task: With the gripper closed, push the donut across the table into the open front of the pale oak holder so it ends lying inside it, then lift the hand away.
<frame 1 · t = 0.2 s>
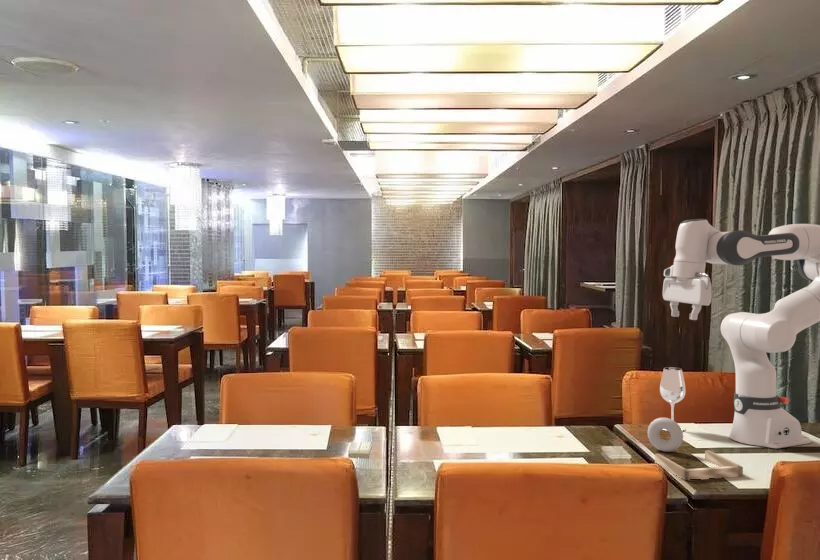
hand: (683, 318, 195), 38 cm above the table, tool pointing down, fingers open, 8 cm apart
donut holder: (697, 469, 175), on the table
donut: (664, 452, 191), on the table
wineglass: (672, 429, 214), on the table
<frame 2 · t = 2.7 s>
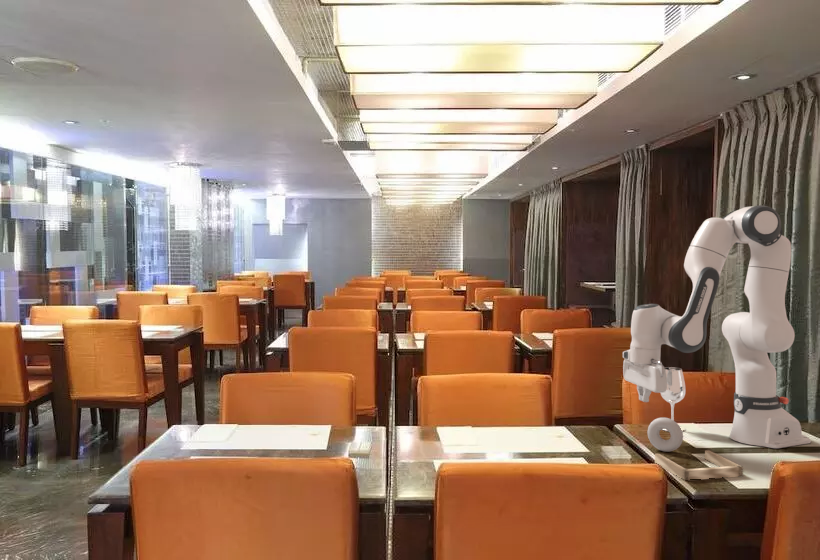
hand: (643, 401, 201), 12 cm above the table, tool pointing down, fingers closed
nothing on the table moved.
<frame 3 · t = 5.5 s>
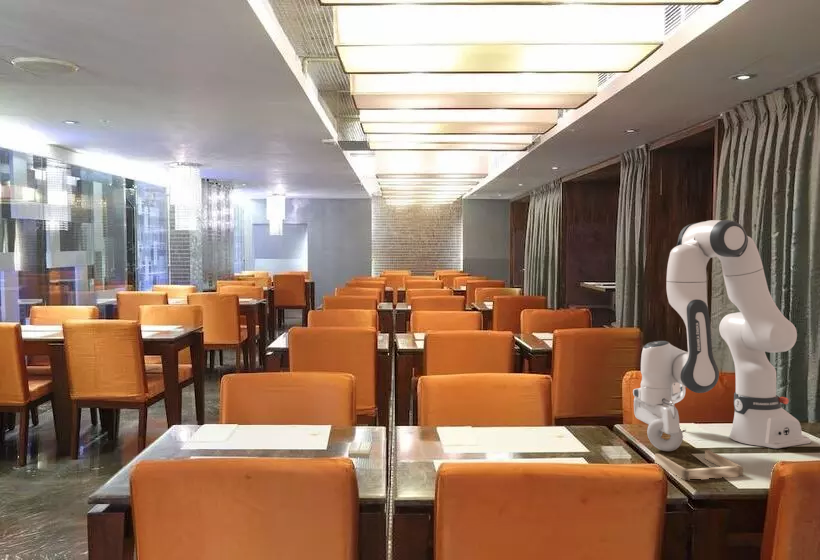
hand: (656, 441, 195), 2 cm above the table, tool pointing down, fingers closed
donut: (664, 451, 191), on the table, touching gripper
everything else where it was.
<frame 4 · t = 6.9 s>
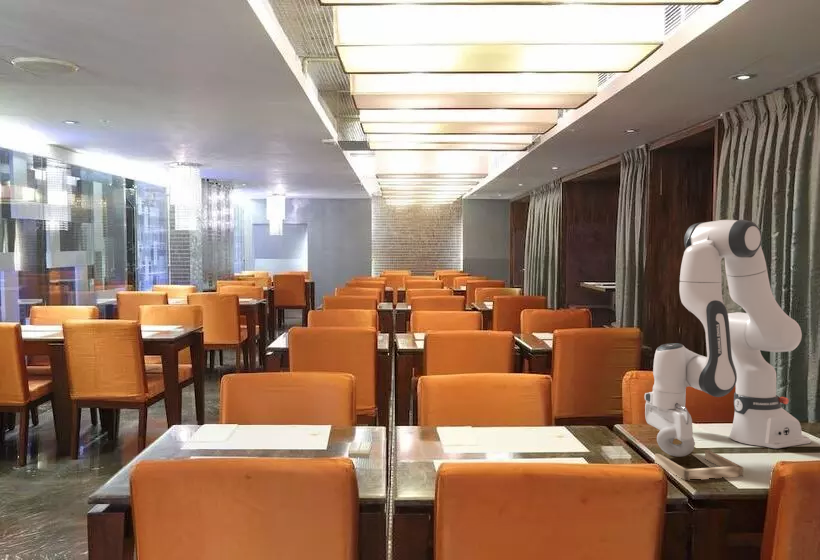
hand: (667, 447, 188), 2 cm above the table, tool pointing down, fingers closed
donut: (676, 455, 185), point 1 cm above the table, touching gripper
everything else where it was.
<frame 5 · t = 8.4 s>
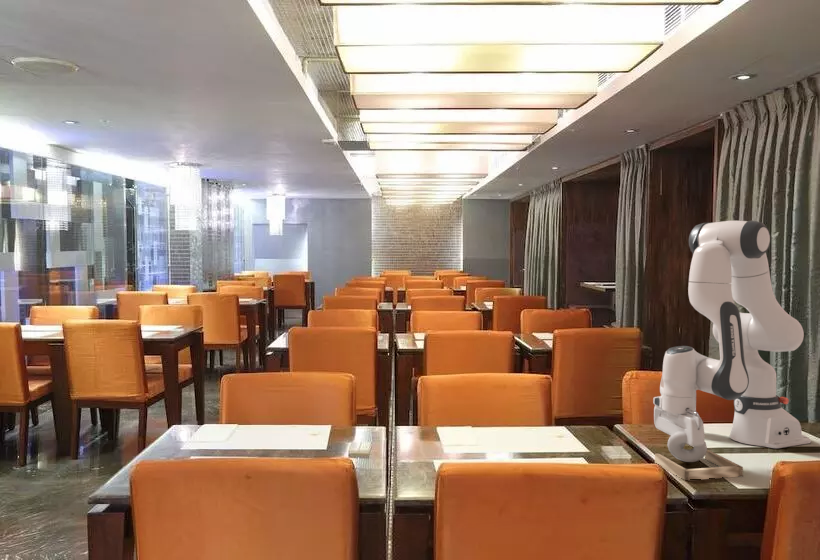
hand: (677, 453, 183), 2 cm above the table, tool pointing down, fingers closed
donut: (688, 460, 180), point 1 cm above the table, touching gripper
everything else where it was.
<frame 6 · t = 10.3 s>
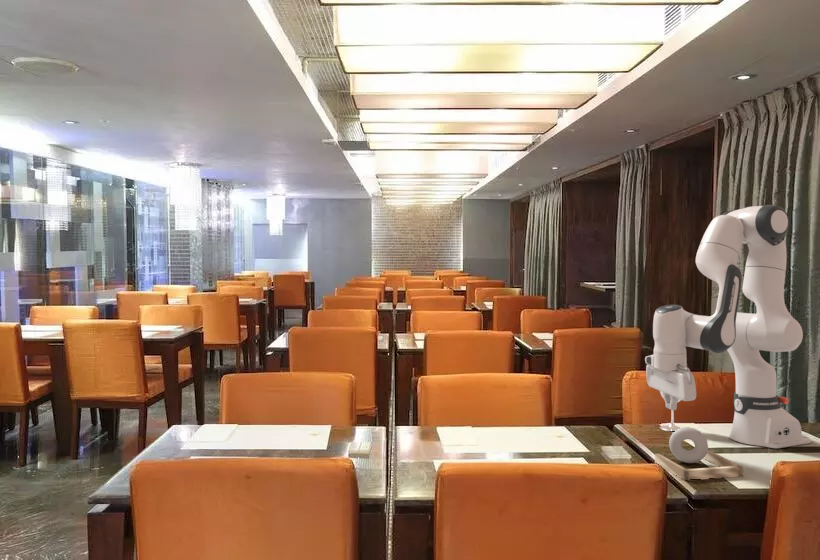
hand: (671, 408, 188), 13 cm above the table, tool pointing down, fingers closed
donut: (688, 463, 180), resting in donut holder
everything else where it was.
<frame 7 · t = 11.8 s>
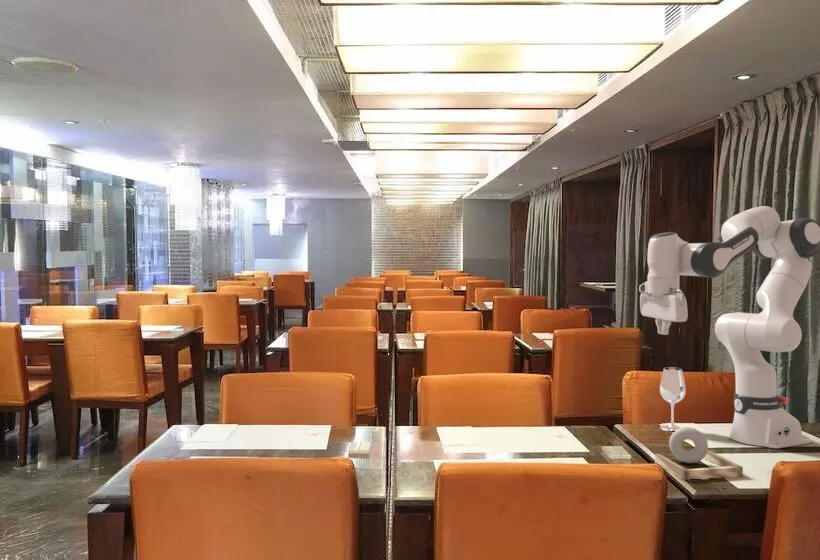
hand: (663, 334, 192), 34 cm above the table, tool pointing down, fingers closed
nothing on the table moved.
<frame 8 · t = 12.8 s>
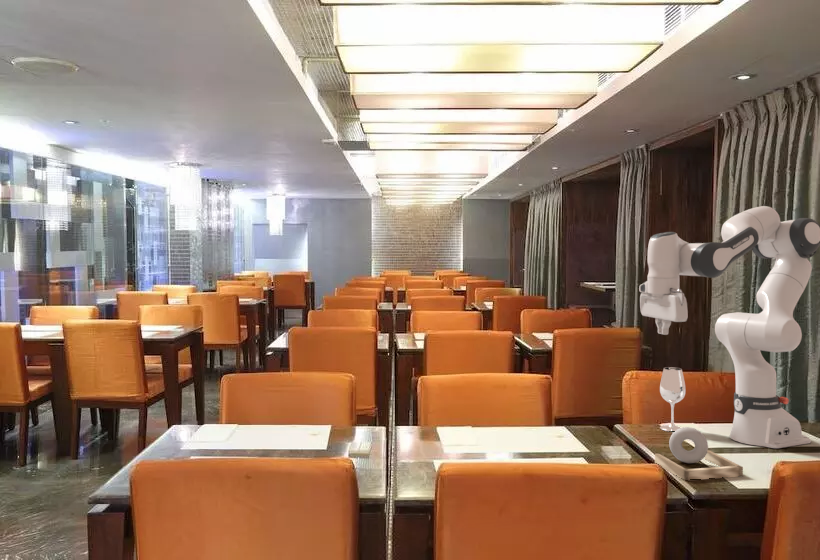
hand: (663, 334, 192), 34 cm above the table, tool pointing down, fingers closed
nothing on the table moved.
at the end: donut inside the target area on the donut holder (4.6 cm from its centre), point 0.0 cm above the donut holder's base; donut moved 10.7 cm from its start; the gripper is holding nothing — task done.
